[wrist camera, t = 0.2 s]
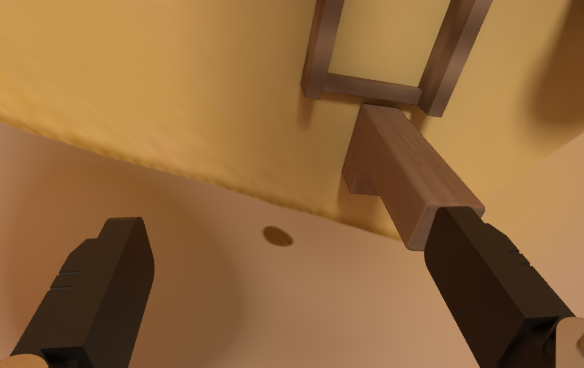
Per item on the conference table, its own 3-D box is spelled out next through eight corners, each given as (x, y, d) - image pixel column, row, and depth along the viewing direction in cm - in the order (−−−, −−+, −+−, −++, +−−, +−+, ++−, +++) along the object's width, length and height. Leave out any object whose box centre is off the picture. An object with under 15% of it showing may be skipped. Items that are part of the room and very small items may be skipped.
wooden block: (376, 176, 44) (438, 295, 29) (340, 172, 43) (387, 293, 28) (399, 107, 39) (489, 208, 24) (360, 102, 38) (428, 203, 24)
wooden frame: (339, -116, 28) (351, -124, 25) (496, -75, 31) (526, -77, 27) (300, 83, 37) (305, 97, 33) (425, 102, 39) (441, 117, 36)
